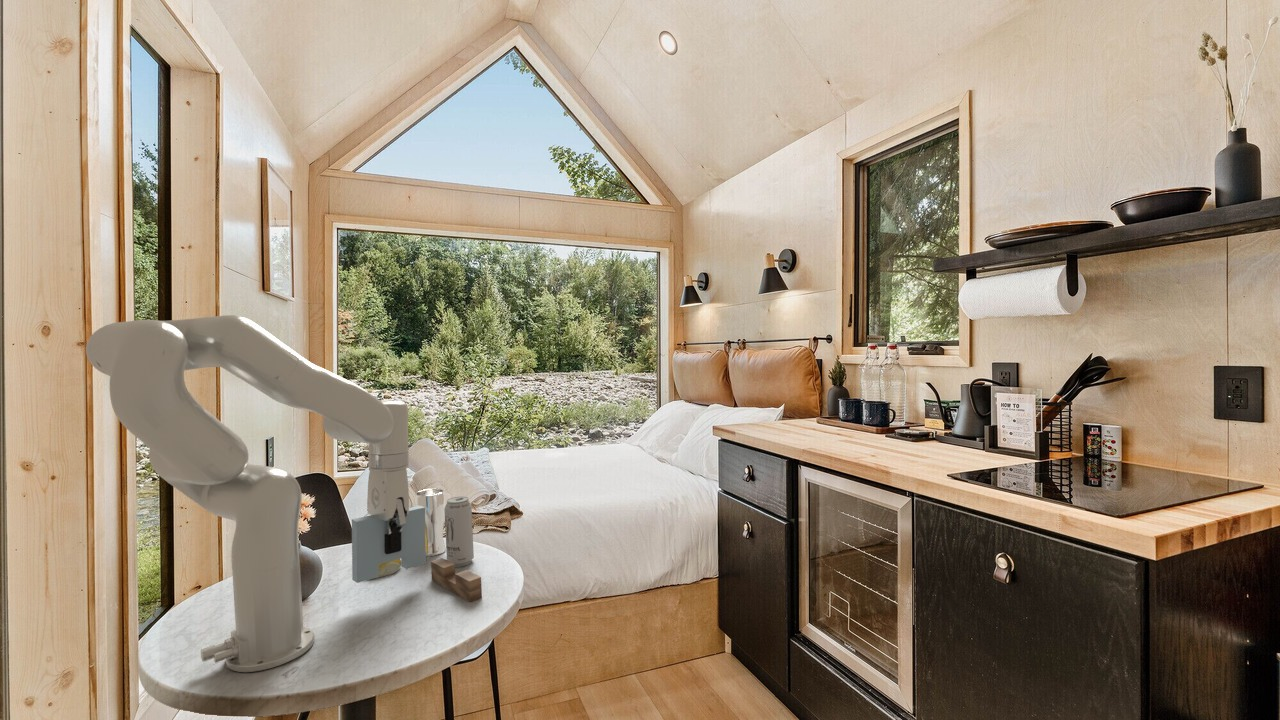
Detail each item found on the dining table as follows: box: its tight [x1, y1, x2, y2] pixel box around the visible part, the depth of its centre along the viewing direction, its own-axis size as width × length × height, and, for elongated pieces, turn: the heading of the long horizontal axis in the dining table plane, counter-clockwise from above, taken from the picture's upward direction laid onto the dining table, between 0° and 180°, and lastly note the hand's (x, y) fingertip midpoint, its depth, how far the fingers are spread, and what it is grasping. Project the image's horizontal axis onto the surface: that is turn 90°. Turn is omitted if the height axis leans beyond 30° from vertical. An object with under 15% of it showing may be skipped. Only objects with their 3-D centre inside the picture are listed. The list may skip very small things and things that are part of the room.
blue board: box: [351, 506, 427, 584], centre depth 117 cm, size 14×2×12 cm, turn 137°
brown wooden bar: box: [430, 557, 483, 603], centre depth 120 cm, size 16×3×4 cm, turn 47°
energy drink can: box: [444, 496, 475, 568], centre depth 134 cm, size 6×6×15 cm
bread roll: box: [378, 559, 402, 578], centre depth 131 cm, size 8×9×4 cm
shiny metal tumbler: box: [414, 488, 446, 558], centre depth 141 cm, size 7×7×15 cm
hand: (389, 549), depth 117 cm, fingers closed on blue board, 2 cm apart
